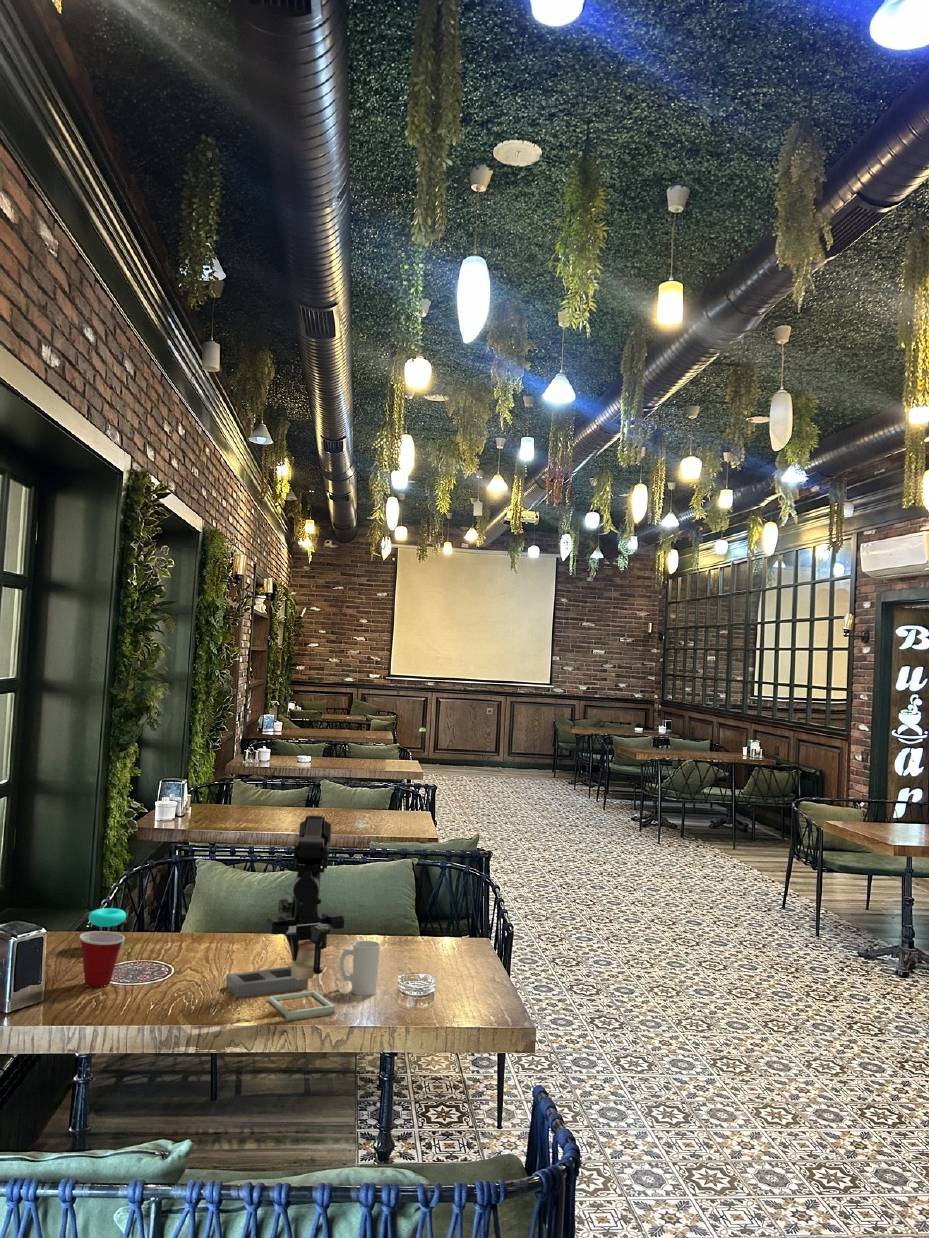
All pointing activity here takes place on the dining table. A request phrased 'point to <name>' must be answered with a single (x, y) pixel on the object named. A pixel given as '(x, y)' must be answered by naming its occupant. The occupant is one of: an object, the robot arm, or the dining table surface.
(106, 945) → the plastic cup
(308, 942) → the plug
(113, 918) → the donuts
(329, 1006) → the tray
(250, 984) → the grey cinder block
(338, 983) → the dining table surface
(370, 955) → the mug
